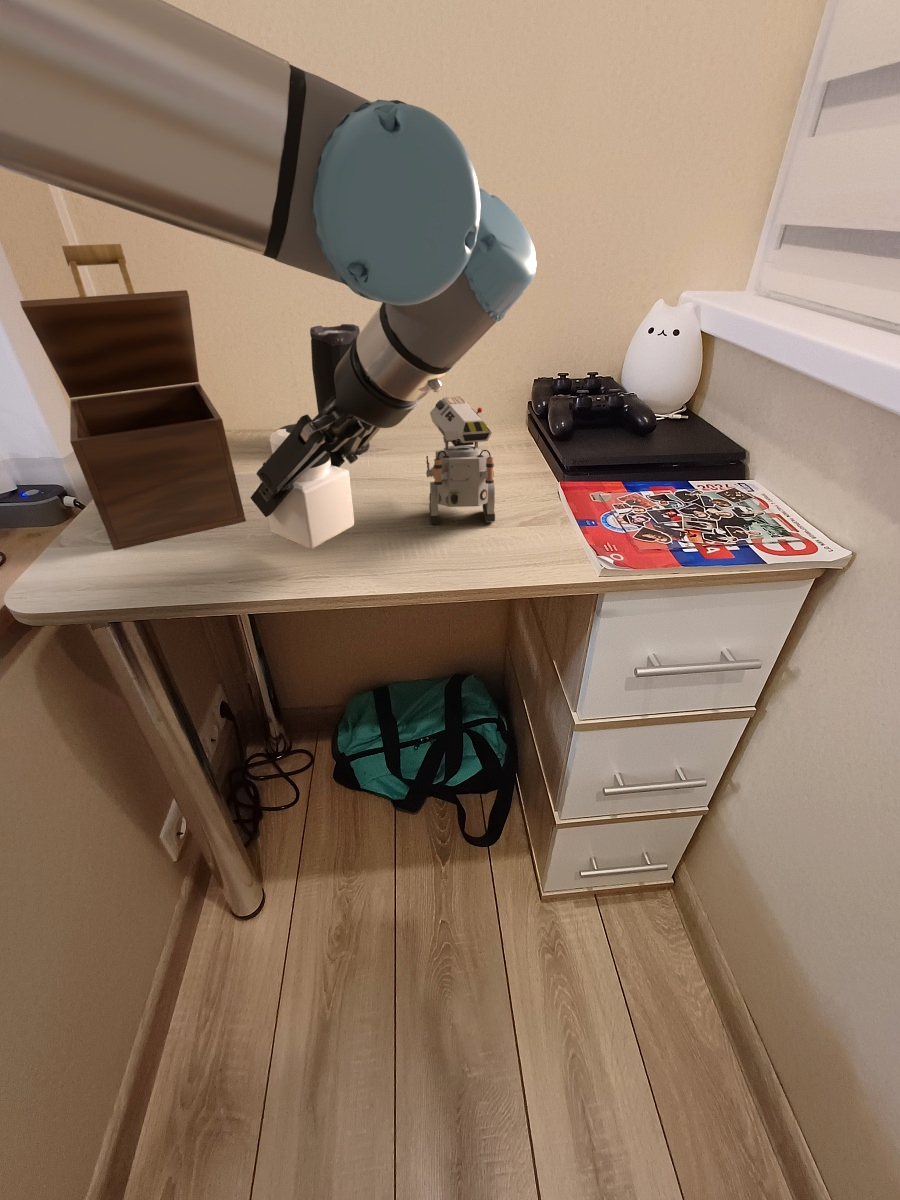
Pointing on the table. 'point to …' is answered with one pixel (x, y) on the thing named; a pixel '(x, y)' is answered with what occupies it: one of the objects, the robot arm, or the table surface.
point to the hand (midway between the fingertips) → (286, 492)
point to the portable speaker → (330, 360)
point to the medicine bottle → (313, 501)
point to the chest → (155, 463)
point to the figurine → (461, 460)
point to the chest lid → (114, 332)
